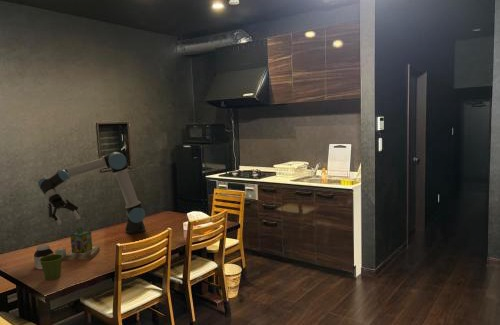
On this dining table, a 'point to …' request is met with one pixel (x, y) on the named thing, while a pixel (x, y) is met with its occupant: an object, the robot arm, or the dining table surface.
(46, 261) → the plant pot
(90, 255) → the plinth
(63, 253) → the grey rounded cylinder
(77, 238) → the chalk box
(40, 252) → the spread jar
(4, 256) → the dining table surface
